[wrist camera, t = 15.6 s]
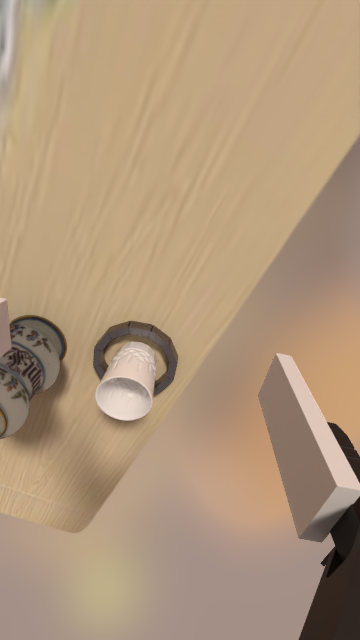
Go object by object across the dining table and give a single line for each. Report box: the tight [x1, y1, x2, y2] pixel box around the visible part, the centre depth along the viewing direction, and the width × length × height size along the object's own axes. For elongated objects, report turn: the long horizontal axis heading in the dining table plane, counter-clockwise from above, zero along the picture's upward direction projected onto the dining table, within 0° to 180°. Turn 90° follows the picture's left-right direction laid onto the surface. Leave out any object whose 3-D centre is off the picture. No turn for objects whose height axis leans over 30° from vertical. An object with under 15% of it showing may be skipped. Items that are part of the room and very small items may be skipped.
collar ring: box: [93, 321, 178, 394], centre depth 46 cm, size 13×13×2 cm
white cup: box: [95, 342, 157, 421], centre depth 42 cm, size 8×8×10 cm
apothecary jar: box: [0, 315, 67, 439], centre depth 38 cm, size 12×12×18 cm
